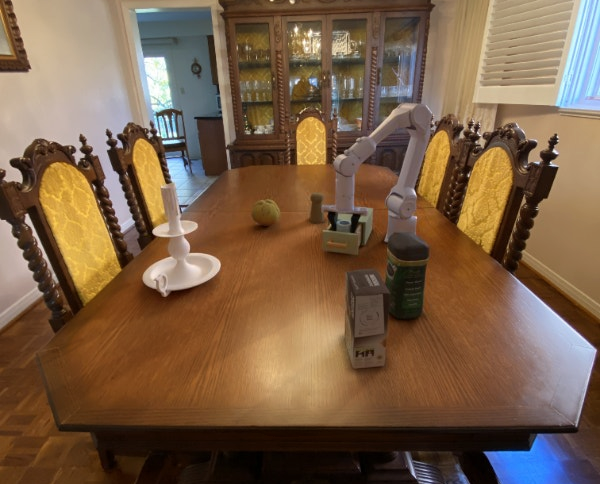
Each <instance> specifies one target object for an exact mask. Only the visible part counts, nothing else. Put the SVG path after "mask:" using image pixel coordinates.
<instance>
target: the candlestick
mask: <svg viewBox="0 0 600 484" xmlns="http://www.w3.org/2000/svg"><path fill="white" fill-rule="evenodd" d="M160 194H161V199H162V205H163V209H164V216H165V217H167V222H164V223H161V224H159V225H157V226H156V227H154V228H153V229H152V230H151V231H152V232H151V233H152V234H153V235H154V236H155V237H160V238H169V242H168V245H167V253H168V255H169V257H165V258H162V259H161V260H159V261H156V262H154V263H152V264H151V265H149V267H147V269H146V270H145V271H144V272H143V274H142V279H141V280H142V282H143V284H144V285H145V286H146V287H149V288H151V289H154V290H156V291H157V292H159V293H160V295H161V297H164V298H165V297H168V296H169V295H170V294H171V292H172V291H183V290H188V289H191V288H195V287H196V286H199V285H201V284H205V282H208V281H209V280H211V279H213V278H214V277H215V276H216V275H217V274H218V273H219V272H220V270H221V261H220V259H218V258H217V257H216V256H214V255H211V254H208V253H207V254H206V253H203V252H202V253H201V252H191V251H190V250H191V246H190V243H189V241H188V240H187V239H186V238H185V235H188V234H190V233H192V232H194V231H196V230H197V229H198V228H199V227H198V225H199V224H198V223H197V222H196V221H192V220H184V219H183V220H181V217H182V214H181V209H180V203H179V197H178V191H177V183H175V182H170V183H168V184H167V183H164V184H162V185H161V186H160Z"/></svg>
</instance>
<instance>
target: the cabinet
mask: <svg viewBox="0 0 600 484" xmlns="http://www.w3.org/2000/svg"><path fill="white" fill-rule="evenodd" d="M359 207H360V208H365V209H368V215H367V217H364V216H362V215H361V217H360V219H359V221H358V223H357V224H363V239H362V241H361V243H360V245H359V246H363V247H364V246H366V244H367V243H368V239H369V238H370V235H371V233H372V231H373V222H374V221H373V219H374V208H373V207H367V206H366V207H364V206H359ZM352 216H353V215H352V214H339V213H338V221H339V220H348V221H351V217H352ZM330 224H331V223H330V221H329V219H328V218H327V227H328V226H329V225H330Z"/></svg>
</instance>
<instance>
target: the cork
mask: <svg viewBox="0 0 600 484" xmlns="http://www.w3.org/2000/svg"><path fill="white" fill-rule="evenodd" d="M324 197H325V196H324V194H323V193H322V192H313V193H311V195H310V197H309V198H310V201H311V206H310V214H309V222H311V223H313V224H314V223H315V224H320V223H324V222H325V221H326V220H325V213H323V212H321V207H322V206H323V205H324V204H323V201H324V200H325V198H324Z"/></svg>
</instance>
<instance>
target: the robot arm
mask: <svg viewBox="0 0 600 484" xmlns="http://www.w3.org/2000/svg"><path fill="white" fill-rule="evenodd" d="M432 118H433V112H432V111H431V109H430V107H429V106H428V105H427V104H426V103H411V102H402V103H400V104H399V105H398V106H397V107H396V108H394V109H392V111H391V113H390V114H389V116H387V117H386V118H385V120H383V122H381V123H380V124H379V125H378V126H377V127H376V128H375V130H373V131H372V133H370V135H368V136H362V137H358V138H357V139H356V140H355V143H354V144H353V145H352V146H351V147H349V148H348V149H345V150H344V151H343V153H342V154H338V155H337V156H336V157H335V158H334V161H333V163H332V169H333V170H334V171H335V191H334V192H335V195H334V198H335V204H323V206H322V207H321V212H323V213H324V214H325V213H327V215H326V217H327V220H328V219H329V221H330V223H331V226H332V229H333V231H336V222H337V221H338V213H339V214H352V215H353V216H352V217H351V233H355V229H356V226H357V223H358V221H359V219H360V217H361V215H362V216H364V217H367V215H368V209H365V208H360V207H361V206H355V180H356V179H355V174H357V173H358V171H359V167H360V166H361V165H362V164H363V163H364V162H365V161H366V160H367V159H368V158H369V157H371V156H372V155H373V154H374V153H375V152H376V149H377V145H378V144H379V143H380V142H382V141H383V140H384V139H386V138H387V137H388V136H389V135H391V134H392V133H393V132H394V131H396V130H397V129H400V128H401V129H402V128H405V129H406V131H407V133H408V134H409V136H410V138H409V141H408V145H407V149H406V152H405V155H404V158H403V163H402V166H401V170H400V173H399V177H398V179H397V183H396V184H395V185H394V186H393V187H391V188H390V192H389V194H388V195H387V197H386V198H385V201H384V205H385V208H387V210H388V211H387V213H388V215H387V227H386V228H387V229H386V235H385V237H384V240H383V242H384V243H387V244H388V239H389V237H390V236H391V235H392V234H393V233H394V232H405V231H410V232H411V233H413V234H415V235H417V221H418V216H415V215H414V214H415V213H416V211H417V200H418V196H417V194H416V191H415V186H416V184H417V181H418V177H419V174H420V170H421V167H422V164H423V162H424V161H423V160H424V157H425V154H426V152H427V147H428V145H429V141H430V137H431V134H432V129H431V121H432Z"/></svg>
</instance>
